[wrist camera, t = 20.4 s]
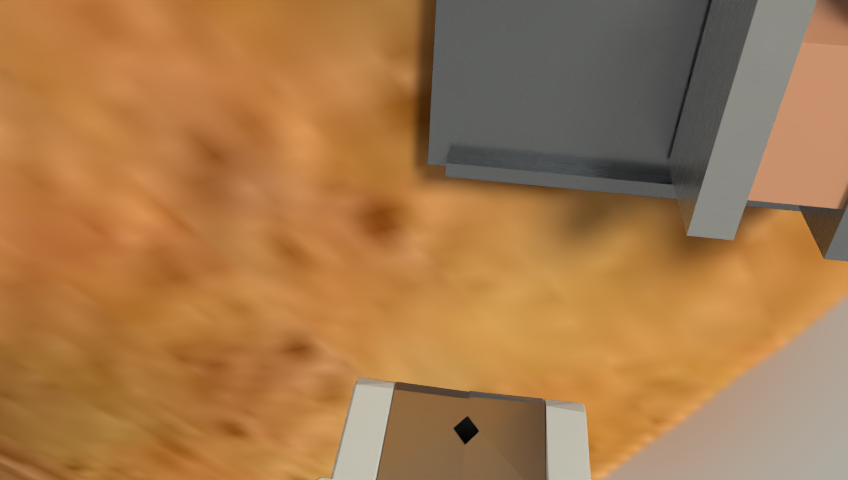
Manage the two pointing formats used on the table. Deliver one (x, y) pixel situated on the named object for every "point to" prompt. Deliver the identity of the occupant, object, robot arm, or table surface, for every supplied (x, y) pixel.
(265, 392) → the table surface
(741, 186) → the sliding jaw
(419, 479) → the robot arm
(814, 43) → the rust block
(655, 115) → the vise base
